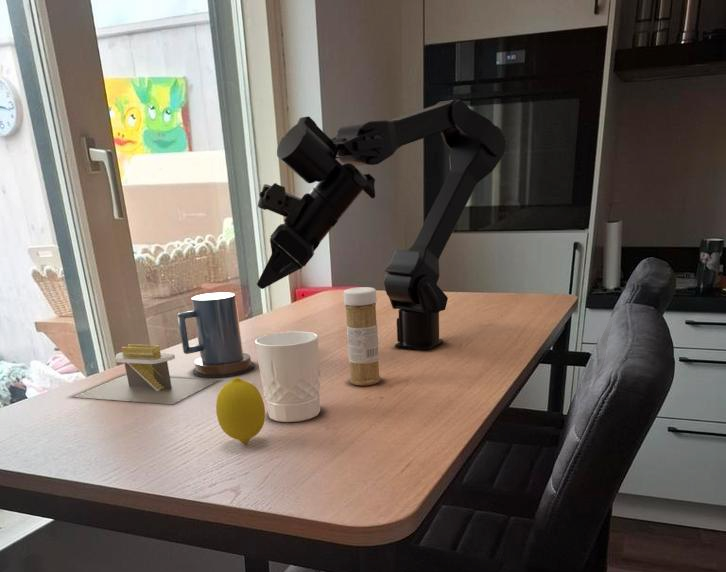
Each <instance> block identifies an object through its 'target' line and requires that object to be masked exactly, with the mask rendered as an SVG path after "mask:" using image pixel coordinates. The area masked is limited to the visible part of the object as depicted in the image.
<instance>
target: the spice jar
mask: <svg viewBox="0 0 726 572" xmlns="http://www.w3.org/2000/svg"><path fill="white" fill-rule="evenodd" d="M376 302H377V290H376V288H374V287H370V286H360V287H351V288H347V289H345V290H344V291H343V304H344V307H345V317H346V337H347V338H346V340H347V352H348V353H347V354H348V362H349V374H350V376H349V382H350V384H352V385H355V386H372V385H373V386H374V385H375V384H378V383H379V382H380V381H381V377H380V366H379V365H380V364H379V360H380V353H379V336H378V335H379V331H378V321H377V308H376V306H377V303H376Z"/></svg>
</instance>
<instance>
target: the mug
mask: <svg viewBox="0 0 726 572" xmlns="http://www.w3.org/2000/svg"><path fill="white" fill-rule="evenodd" d="M236 296H237V295H236V294H235V292H234V293H233V292H211V293H203V294H198V295H195V296H193V297H191V302H192V303H191V305H192V309H193V310H190V311H189V310H188V311H183V312H178V314H177V321H178V327H179V334H180V339H181V346H182V351H183V353H184V354H185V355H189V354H195V353H199V356H200V357H198V358H196V359H195V360H194V367H195V368H196V372H197V373H199V374H203V375H226V374H232V373H237V372H241V371H244V370H246V369H248V368H250V367H251V362H252V360H251V359H252V358H251V355H250V354H249V353H246V352H244V350H243V341H242V335H241V328H240V327H241V325H240V320H239V311H238V304H237V297H236ZM192 318H193V319H194V323H195V329H196V330H195V331H196V335H197V336H196V337H197V342H198V344H197V345H193V346H192V345H191V346H190V343H189V338H188V337H189V336H188V329H187V325H186V319H192ZM195 368H194V369H195Z"/></svg>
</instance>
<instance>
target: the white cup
mask: <svg viewBox="0 0 726 572" xmlns="http://www.w3.org/2000/svg"><path fill="white" fill-rule="evenodd" d="M254 344H255V350H256V356H257V362H258V368H259V374H260V378H261V379H260V380H261V384H262V385H261V386H262V389H263V395H264V398H265V402H266V408H267V409H266V410H267V414H268V416H269V419H270V420H273V421H274V422H275V421H276V422H282V423H294V422H295V423H296V422H303V421H306V420H310V419H313V418H315V417H317V416H318V415H319V413H320V412H321V399H320V389H321V382H320V377H321V376H320V375H321V373H320V350H319V335H318V334H317V333H316V332H311V331H301V330H293V331H292V330H291V331H280V332H274V333H269V334H265V335H261V336H259V337H257V338H256V339H255V340H254Z"/></svg>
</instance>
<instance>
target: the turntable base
mask: <svg viewBox="0 0 726 572" xmlns="http://www.w3.org/2000/svg"><path fill="white" fill-rule="evenodd" d="M255 367H256V366H255V363H254V362H252V361H251V367H250V368H248V369H246V370H244V371H241V372H237V373H232V374H226V375H203V374H199V373H197V372H196V368H193V370H192V374H193V375H194V376H195V377H198V378H203V379H224V378H231V377H237V376H241V375H244V374H247V373H249V372H251V371H253V370H254V369H255Z"/></svg>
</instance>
